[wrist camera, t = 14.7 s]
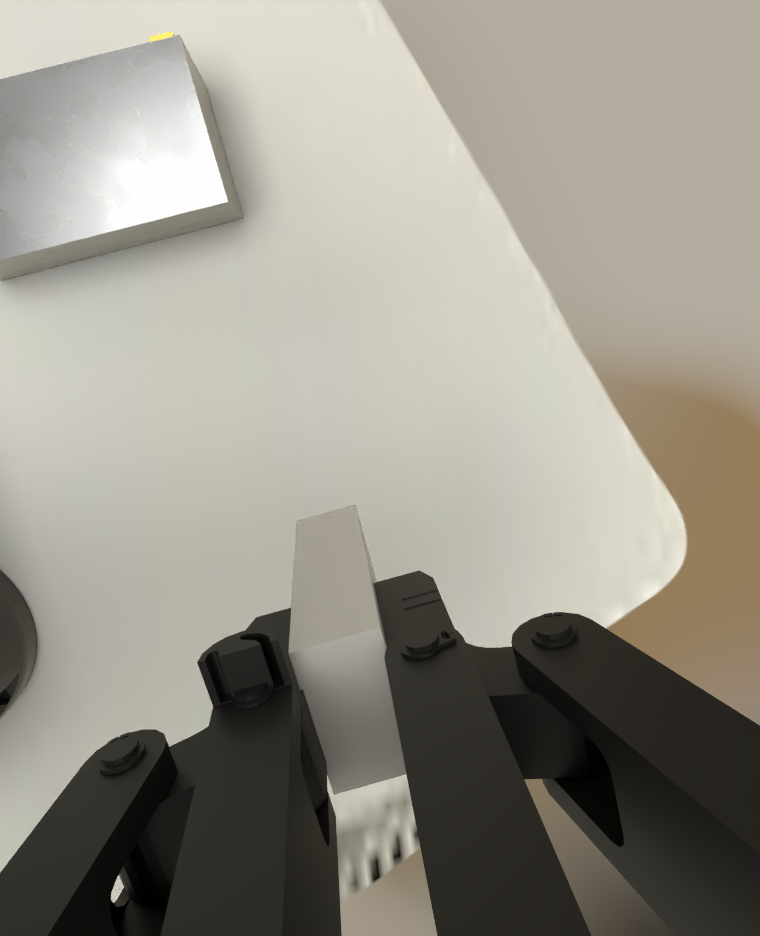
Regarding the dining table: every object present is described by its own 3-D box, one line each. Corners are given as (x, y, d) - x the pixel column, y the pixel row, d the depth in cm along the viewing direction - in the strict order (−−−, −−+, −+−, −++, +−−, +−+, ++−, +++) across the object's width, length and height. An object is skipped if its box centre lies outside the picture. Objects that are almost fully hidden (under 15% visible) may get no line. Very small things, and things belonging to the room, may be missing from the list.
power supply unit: (1, 280, 45) (-73, 278, 37) (-53, 138, 43) (-145, 100, 34) (243, 218, 46) (227, 201, 37) (202, 75, 43) (175, 21, 35)
